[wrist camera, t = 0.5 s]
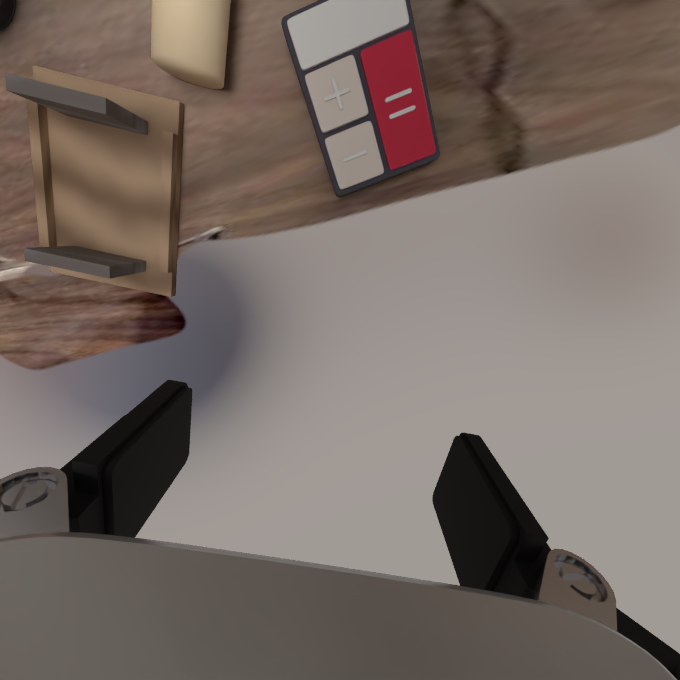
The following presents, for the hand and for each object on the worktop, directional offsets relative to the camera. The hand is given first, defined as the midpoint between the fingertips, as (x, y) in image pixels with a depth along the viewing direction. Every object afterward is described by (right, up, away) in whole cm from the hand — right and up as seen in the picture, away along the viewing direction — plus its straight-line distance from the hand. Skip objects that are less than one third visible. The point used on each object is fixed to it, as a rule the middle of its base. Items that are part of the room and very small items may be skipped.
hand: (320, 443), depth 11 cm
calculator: (+3, +28, +21) cm, 35 cm away
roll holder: (-24, +20, +24) cm, 39 cm away
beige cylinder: (-12, +33, +16) cm, 39 cm away
